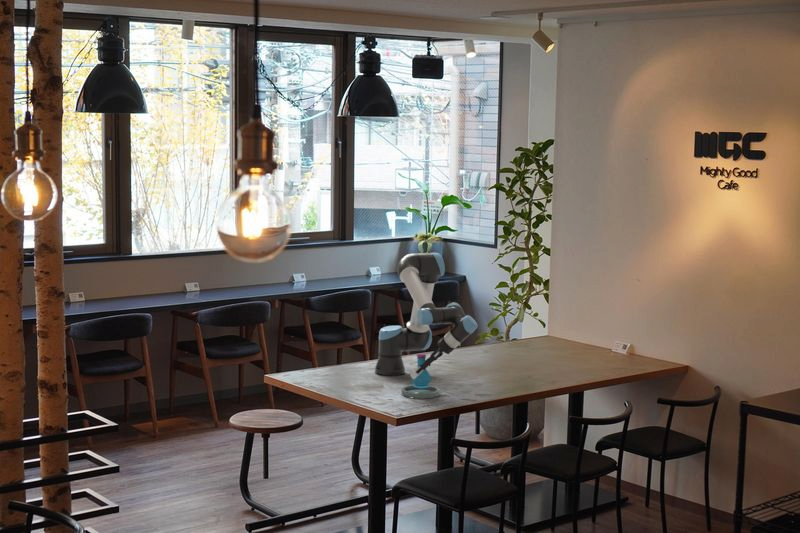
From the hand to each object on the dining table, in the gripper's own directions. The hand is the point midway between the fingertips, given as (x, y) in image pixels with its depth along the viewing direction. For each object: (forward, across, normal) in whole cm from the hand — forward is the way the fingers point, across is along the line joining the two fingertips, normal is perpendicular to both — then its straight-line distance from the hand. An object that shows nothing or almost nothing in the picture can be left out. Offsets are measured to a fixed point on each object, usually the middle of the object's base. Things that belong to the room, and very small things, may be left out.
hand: (414, 375), depth 475 cm
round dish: (+4, 0, -8) cm, 9 cm away
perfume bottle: (+1, 0, -6) cm, 6 cm away
